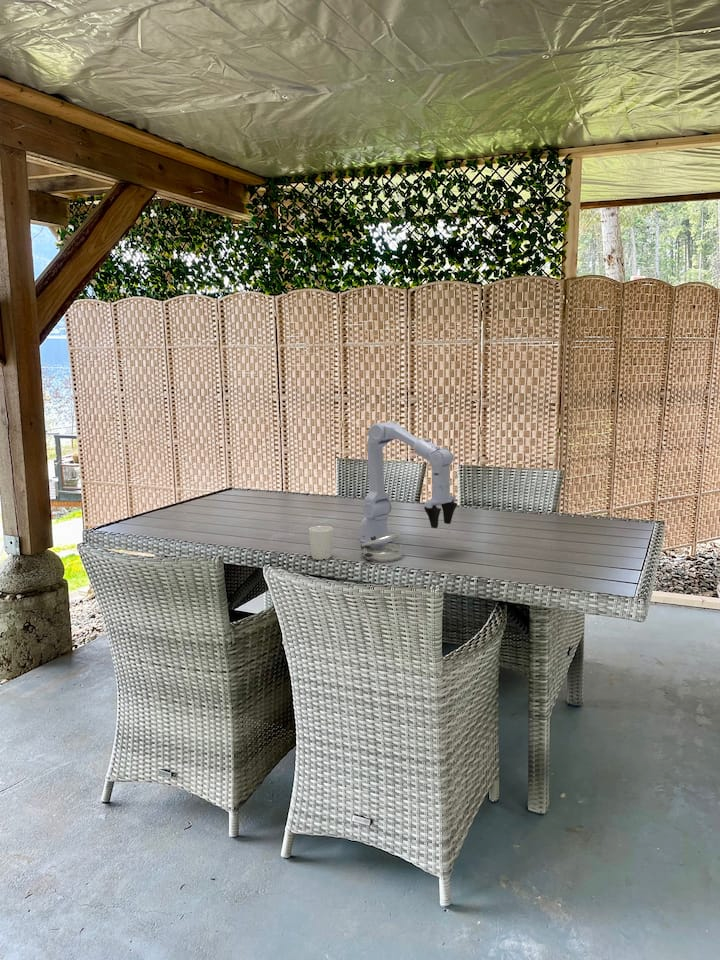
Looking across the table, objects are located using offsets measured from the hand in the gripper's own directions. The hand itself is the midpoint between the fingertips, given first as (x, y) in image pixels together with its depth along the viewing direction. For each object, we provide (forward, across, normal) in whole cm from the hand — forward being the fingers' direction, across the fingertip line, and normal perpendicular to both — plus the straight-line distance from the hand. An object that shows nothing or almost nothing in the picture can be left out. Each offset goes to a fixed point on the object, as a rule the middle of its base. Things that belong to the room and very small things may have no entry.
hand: (440, 525), depth 231 cm
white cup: (+10, -27, +30) cm, 42 cm away
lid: (+5, -14, +14) cm, 21 cm away
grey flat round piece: (+10, -14, +14) cm, 22 cm away
